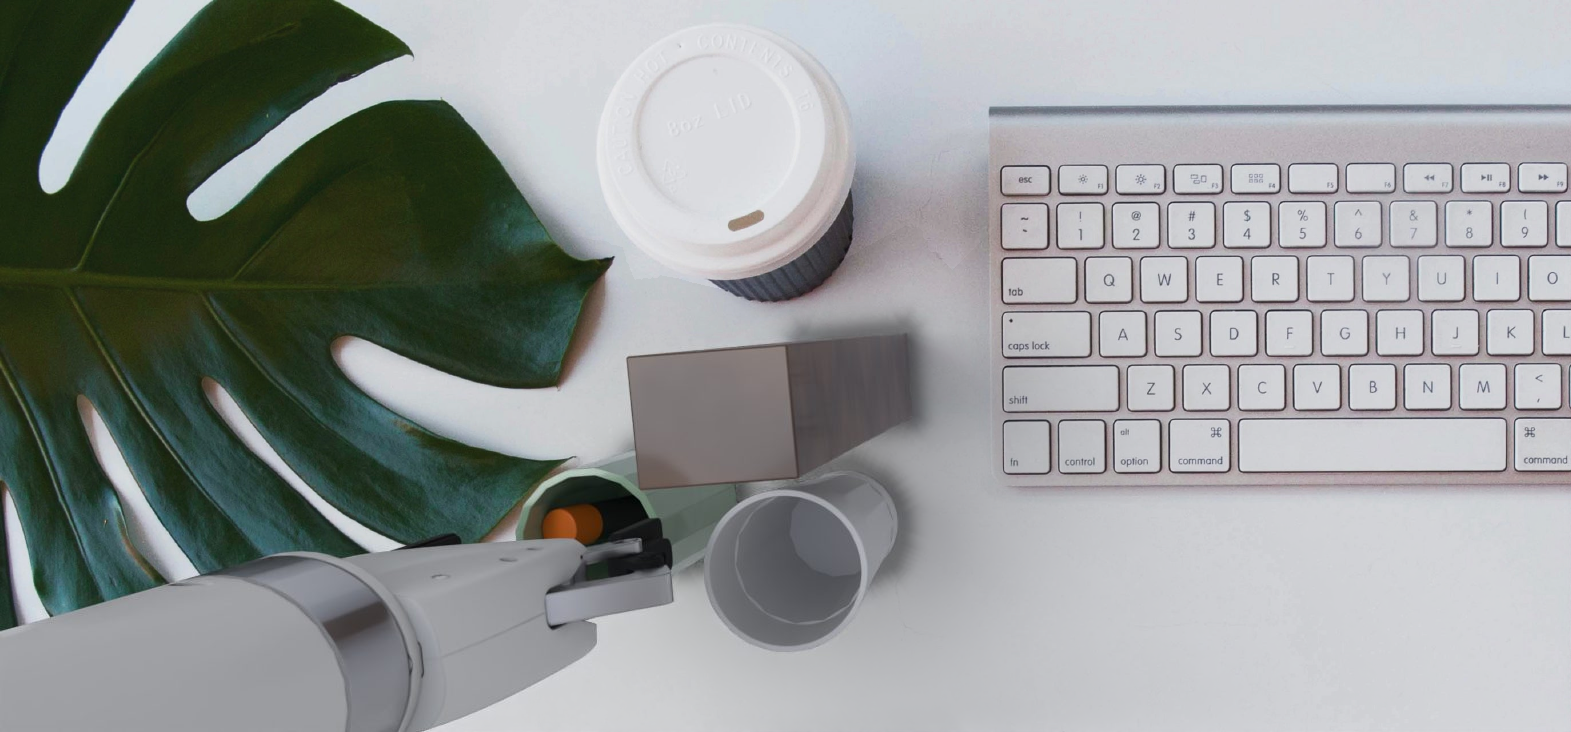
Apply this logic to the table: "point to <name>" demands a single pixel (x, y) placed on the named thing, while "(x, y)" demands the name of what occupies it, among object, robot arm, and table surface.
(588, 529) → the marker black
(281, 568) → the robot arm
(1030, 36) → the table surface
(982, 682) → the table surface
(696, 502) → the glass
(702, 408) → the stand
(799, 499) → the cup
